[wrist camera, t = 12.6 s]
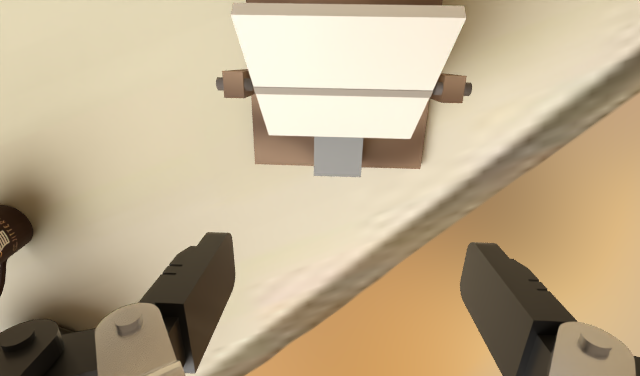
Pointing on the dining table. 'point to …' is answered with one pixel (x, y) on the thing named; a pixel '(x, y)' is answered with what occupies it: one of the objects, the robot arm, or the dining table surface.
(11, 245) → the coffee mug
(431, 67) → the trapdoor
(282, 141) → the stand
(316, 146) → the gray cube
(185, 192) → the dining table surface
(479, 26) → the dining table surface
